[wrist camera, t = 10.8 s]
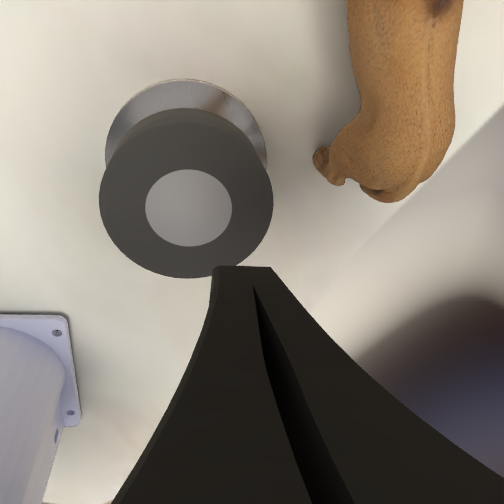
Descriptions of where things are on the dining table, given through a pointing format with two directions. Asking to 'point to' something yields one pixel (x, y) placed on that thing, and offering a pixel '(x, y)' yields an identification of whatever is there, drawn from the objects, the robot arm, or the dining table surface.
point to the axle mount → (184, 96)
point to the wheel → (185, 194)
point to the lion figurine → (397, 96)
